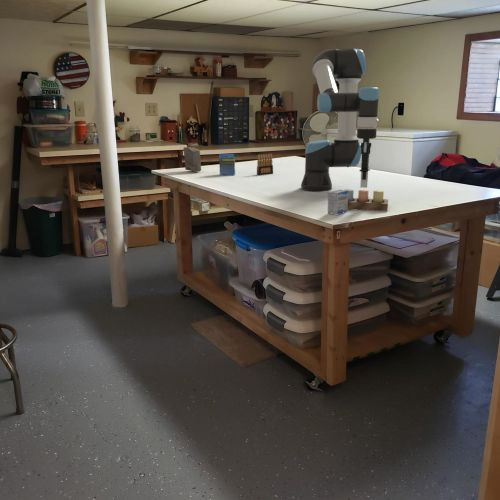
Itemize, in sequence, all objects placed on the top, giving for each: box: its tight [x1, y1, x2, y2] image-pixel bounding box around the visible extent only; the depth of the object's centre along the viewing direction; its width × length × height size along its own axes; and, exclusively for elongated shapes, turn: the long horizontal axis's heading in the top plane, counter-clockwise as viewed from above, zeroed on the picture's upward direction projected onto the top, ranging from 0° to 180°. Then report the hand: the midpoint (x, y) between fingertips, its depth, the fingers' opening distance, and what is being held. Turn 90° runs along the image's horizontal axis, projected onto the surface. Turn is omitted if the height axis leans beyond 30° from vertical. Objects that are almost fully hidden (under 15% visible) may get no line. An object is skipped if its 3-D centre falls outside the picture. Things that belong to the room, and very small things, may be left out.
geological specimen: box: [183, 146, 202, 173], centre depth 311 cm, size 11×6×15 cm, turn 35°
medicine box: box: [327, 189, 348, 215], centre depth 204 cm, size 8×4×9 cm, turn 138°
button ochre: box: [372, 190, 384, 203], centre depth 211 cm, size 4×4×5 cm
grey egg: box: [346, 189, 355, 201], centre depth 214 cm, size 4×4×5 cm
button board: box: [347, 197, 389, 212], centre depth 213 cm, size 20×9×3 cm, turn 74°
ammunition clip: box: [256, 153, 274, 177], centre depth 299 cm, size 11×2×12 cm, turn 125°
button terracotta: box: [357, 189, 369, 202], centre depth 212 cm, size 4×4×5 cm
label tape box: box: [218, 153, 236, 176], centre depth 299 cm, size 9×4×12 cm, turn 84°
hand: (363, 187), depth 211 cm, fingers closed
